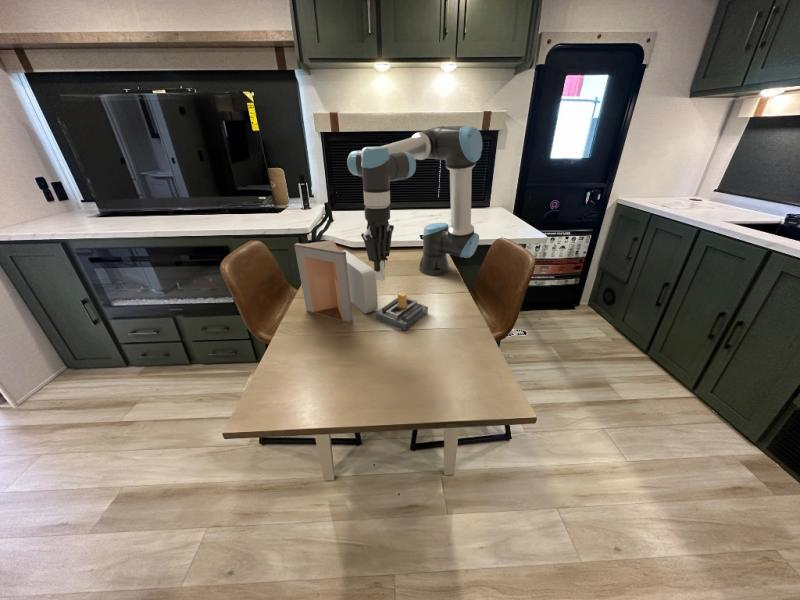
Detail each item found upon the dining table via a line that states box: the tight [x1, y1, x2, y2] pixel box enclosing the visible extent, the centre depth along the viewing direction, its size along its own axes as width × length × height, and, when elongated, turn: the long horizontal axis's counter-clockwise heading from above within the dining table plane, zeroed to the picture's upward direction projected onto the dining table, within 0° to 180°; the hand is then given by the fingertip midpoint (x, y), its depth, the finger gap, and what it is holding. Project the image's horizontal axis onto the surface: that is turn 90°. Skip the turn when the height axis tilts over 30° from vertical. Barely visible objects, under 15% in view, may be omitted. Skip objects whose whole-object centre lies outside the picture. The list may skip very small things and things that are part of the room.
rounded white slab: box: [342, 249, 378, 314], centre depth 129 cm, size 29×8×18 cm, turn 34°
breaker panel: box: [374, 297, 429, 332], centre depth 120 cm, size 15×14×4 cm
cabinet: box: [294, 239, 354, 324], centre depth 118 cm, size 21×10×28 cm, turn 65°
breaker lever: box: [397, 292, 408, 311], centre depth 118 cm, size 3×3×6 cm
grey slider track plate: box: [381, 297, 423, 321], centre depth 119 cm, size 11×12×1 cm
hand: (380, 279), depth 102 cm, fingers closed
